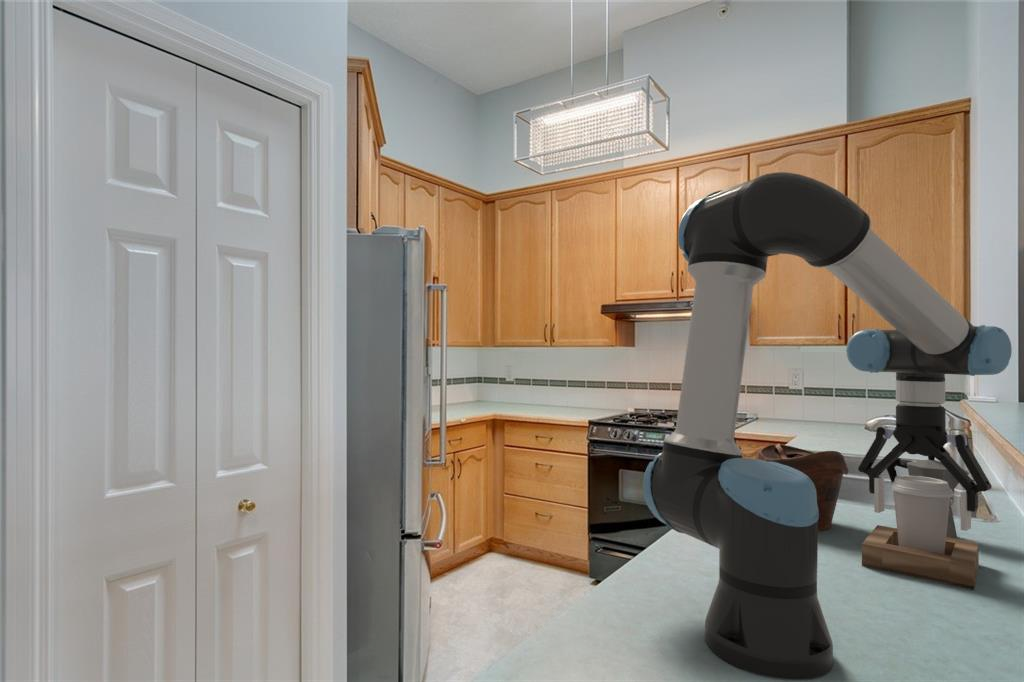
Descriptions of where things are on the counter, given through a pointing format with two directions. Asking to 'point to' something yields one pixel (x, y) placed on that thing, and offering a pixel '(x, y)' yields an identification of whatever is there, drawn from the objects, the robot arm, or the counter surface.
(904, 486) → the coffee cup
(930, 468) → the coffeepot
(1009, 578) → the counter surface
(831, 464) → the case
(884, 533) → the holder
